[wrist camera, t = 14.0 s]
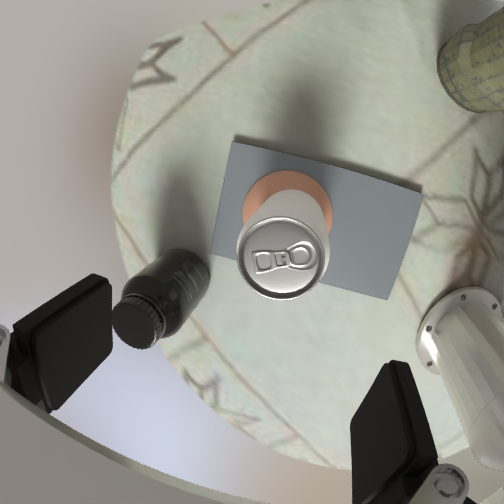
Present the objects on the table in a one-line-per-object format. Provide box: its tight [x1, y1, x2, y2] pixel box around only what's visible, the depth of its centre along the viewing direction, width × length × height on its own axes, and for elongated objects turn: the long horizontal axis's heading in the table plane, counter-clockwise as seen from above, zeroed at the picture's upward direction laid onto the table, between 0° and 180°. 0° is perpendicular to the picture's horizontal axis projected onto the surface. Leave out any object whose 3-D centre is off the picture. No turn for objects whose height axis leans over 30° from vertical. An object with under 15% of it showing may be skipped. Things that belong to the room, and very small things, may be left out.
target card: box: [211, 142, 424, 300], centre depth 31 cm, size 20×12×1 cm, turn 78°
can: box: [237, 189, 330, 300], centre depth 26 cm, size 6×6×12 cm
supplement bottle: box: [112, 249, 209, 349], centre depth 31 cm, size 7×7×12 cm
